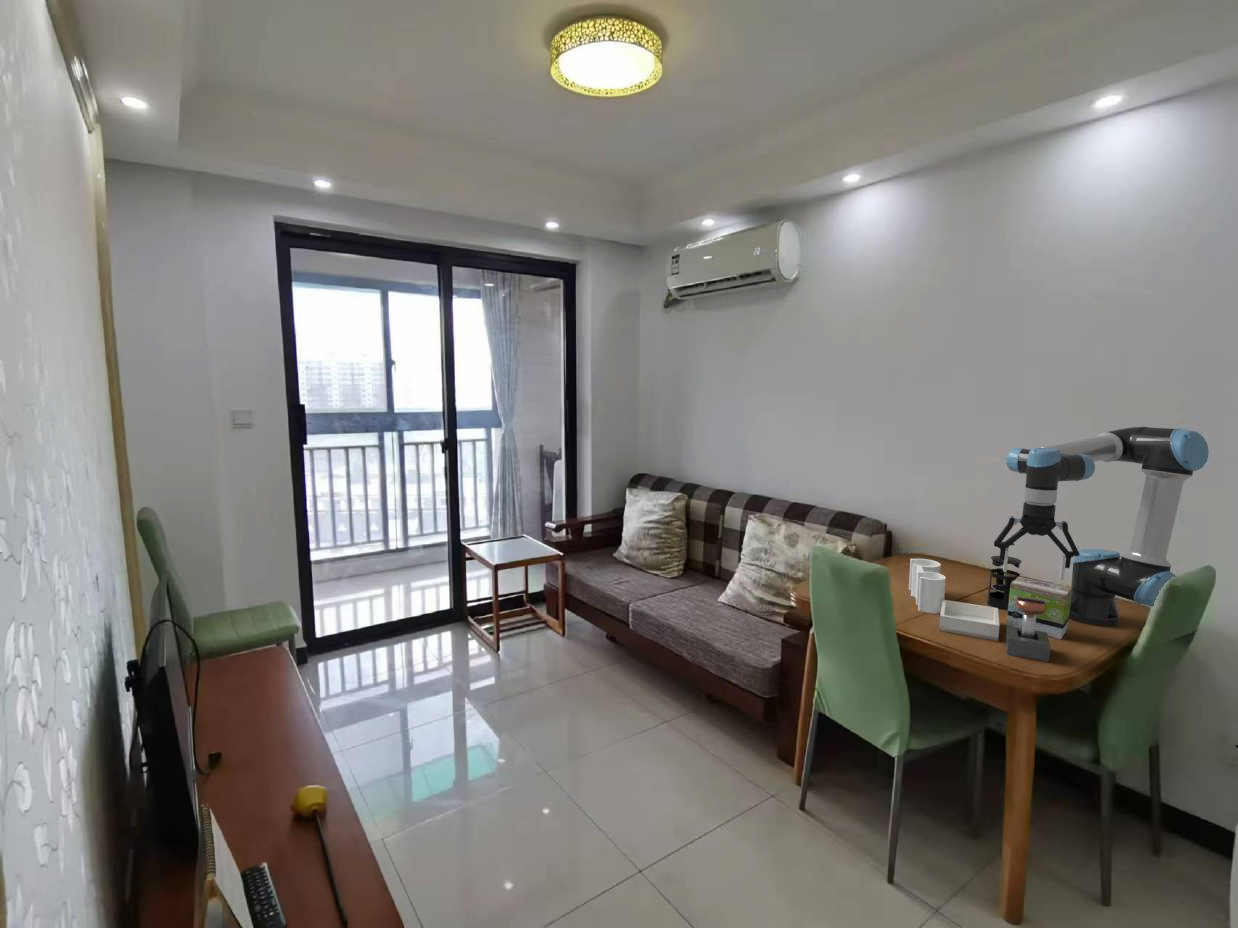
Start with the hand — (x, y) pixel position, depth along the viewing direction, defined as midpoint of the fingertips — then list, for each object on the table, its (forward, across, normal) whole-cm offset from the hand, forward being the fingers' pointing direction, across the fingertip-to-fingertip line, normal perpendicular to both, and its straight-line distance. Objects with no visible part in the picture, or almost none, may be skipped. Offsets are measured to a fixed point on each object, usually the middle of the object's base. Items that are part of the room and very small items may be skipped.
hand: (1032, 574), depth 173 cm
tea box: (+24, -4, -21) cm, 32 cm away
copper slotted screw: (+24, 0, 0) cm, 24 cm away
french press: (+24, +5, -39) cm, 46 cm away
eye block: (+24, 0, 0) cm, 24 cm away
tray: (+24, +15, -12) cm, 30 cm away
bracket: (+24, +28, -31) cm, 48 cm away
